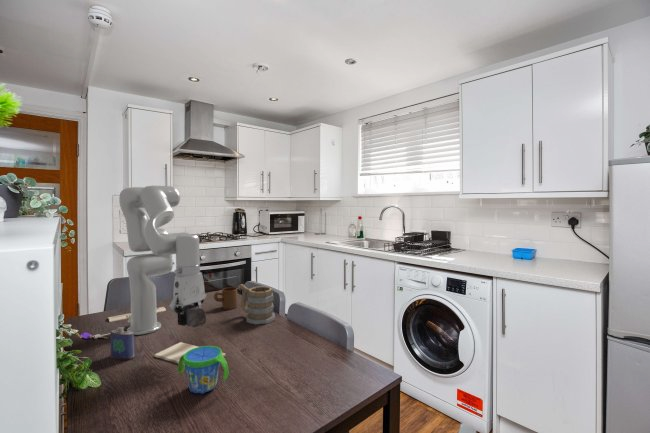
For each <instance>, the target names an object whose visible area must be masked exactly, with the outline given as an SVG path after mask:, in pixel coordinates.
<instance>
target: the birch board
mask: <svg viewBox="0 0 650 433" xmlns="http://www.w3.org/2000/svg"><path fill="white" fill-rule="evenodd" d="M197 347H199V346H197V345H194V344H189V343H186V342H182V341H180V342H178V343H175V344H174V345H171V346H169V347H167V348H165V349H163V350H160V351H159V352H157V353H155V354H154V357H155V358H158V359H161V360H165V361H168V362H171V363H175V364H179V360H180V357H181V356H182V355H184V354H185V353H186V352H188V351H189V350H191V349H194V348H197ZM222 356H223V357H224V358H225V357H226V353H225V352H222ZM184 365H185V364H184Z"/></svg>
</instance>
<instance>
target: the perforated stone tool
mask: <svg viewBox="0 0 650 433" xmlns="http://www.w3.org/2000/svg"><path fill="white" fill-rule="evenodd" d="M181 308H182V306H181ZM181 308H180V309H181ZM184 314H186V325H185V326H188V327H192V328H199V327H202V326H204V325H205V324H206V322H207V313H206V310H205V309H204V308H202V307H201V308H200V307H198V306H195V305H193V304H191V305H188V306H186V308H185V312H184Z"/></svg>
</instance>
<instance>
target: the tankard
mask: <svg viewBox="0 0 650 433" xmlns="http://www.w3.org/2000/svg"><path fill="white" fill-rule="evenodd" d="M237 290H242V297H241V301H240V302H241V303H240V304H241V309H242V311H243V313H246V321H245V322H246V323H249V324H252V325H264V324H269V323H271V322H273V321H275V320H276V316H275V312H274V307H275V306H274V303H273V301H274V294H273V293H274V292H273V290H272V287H270V286H264V285H263V286H254V287H251V288H250V287H249V288H248V287H247V286H245V284H244V283H241V284H239V285H237ZM246 302H247V303H248V304H247V303H246Z"/></svg>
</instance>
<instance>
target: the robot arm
mask: <svg viewBox="0 0 650 433" xmlns="http://www.w3.org/2000/svg"><path fill="white" fill-rule="evenodd" d="M118 201H119V202H118V203H119V207H120V210H121V212H122V214H123V217H124V219H125V223H126V234H127V243H128V247H129V250H130V251H131V252H132V253H133V252H134V253H135V252H136V253H142V252H144V253H145V252H152V253H149V254H148V253H147V254H141V255H140V254H139V255H136V256H132V257H130V258H129V259H128V260H127V262H126V271H127V276H128V281H129V293H130V313H131V318H129V319H127V323H130V325H129V327H128V328H127V329H126V332H134V336H136V335H137V336H141V335H147V334H150V333H153V332H157V331H158V330H159V329H161V327H162V323H161V322H160V321H158V318H157V317H158V316H157V315H158V313H157V308H158V307H157V287H156V285H155V283H154V282H153V281H152V280H151V279H150V278H152V277H156V276H157V277H158V276H161V275H167V274H169V273H171V272H172V270H173V268H174V267H173V266H174V262H173V261H174V260H173V255H175V269H174V271H173V272H174V274H176V275H175V276H174V280H173V291H172V292H173V296H172V298H173V299H172V300H171V302H170V304H169V305H168V308H170V310H172V311H173V312H174V313H175V314H177V325H178V326H183V327H184V326H185V327H186V326H187V325H186V314H184V312H185V308H186V306H188V305H195V306H198V307H200V308H202V306H203V303H204V302H205V299H206V298H207V293H206V292H205V291H206V290H205V283H204V277H203V272H201V270H200V269H201V263H200V262H201V261H200V260H201V259H200V238H199V236H198V235H197V234H191V233H189V232H172V233H171V232H168V231H167V230H166V229H164V228H161V227H163V226H165V225H167V224H169V223H170V222H172V220H173V218H174V217H175V212H174V209H173V208H174V207H177V206H179V204H180V201H181V195H180V192H179V190H178V189H177V188H176V187H175V186H172V185H147V186H145V187H142V186H135V187H134V186H133V187H132V186H131V187H127V188H126V187H125V188H124V189H122V190H121V191H120V193H119V199H118ZM141 208H144V210H145V211H146V212H144V211H143V210H142V209H141ZM146 213H147V214H146ZM181 306H182V308H181ZM180 308H181V309H180Z"/></svg>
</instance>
